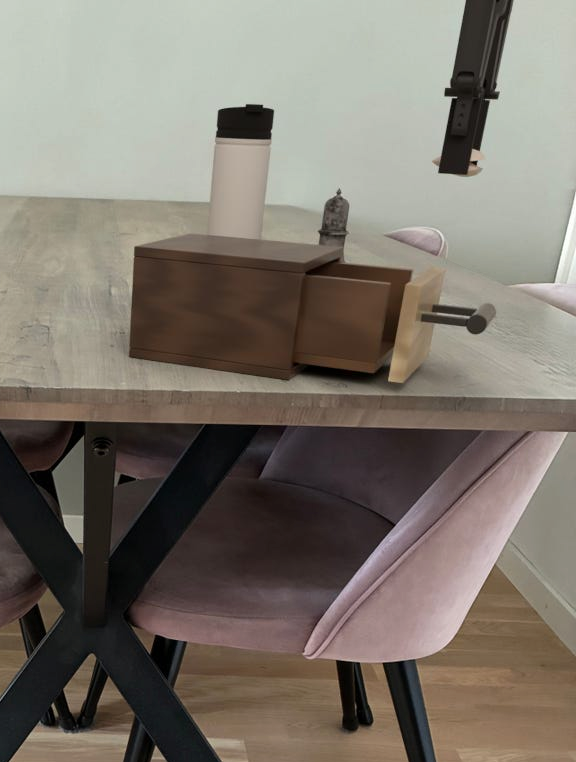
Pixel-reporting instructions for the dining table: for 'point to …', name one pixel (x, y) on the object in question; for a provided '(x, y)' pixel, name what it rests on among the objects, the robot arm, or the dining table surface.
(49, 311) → the dining table surface
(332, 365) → the drawer
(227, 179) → the travel mug
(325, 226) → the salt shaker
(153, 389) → the dining table surface
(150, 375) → the dining table surface
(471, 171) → the beige seashell
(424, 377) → the dining table surface
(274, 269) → the cabinet
